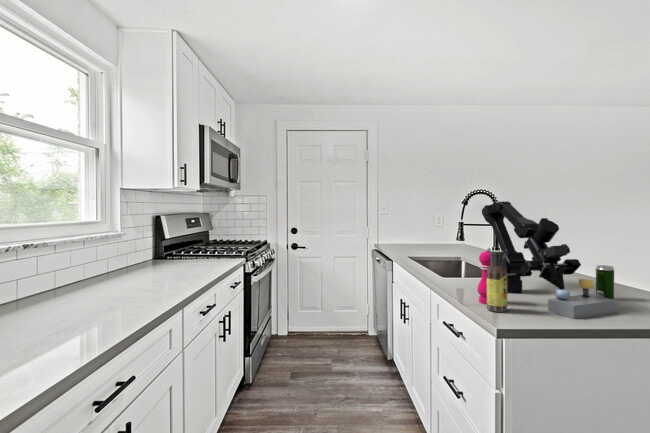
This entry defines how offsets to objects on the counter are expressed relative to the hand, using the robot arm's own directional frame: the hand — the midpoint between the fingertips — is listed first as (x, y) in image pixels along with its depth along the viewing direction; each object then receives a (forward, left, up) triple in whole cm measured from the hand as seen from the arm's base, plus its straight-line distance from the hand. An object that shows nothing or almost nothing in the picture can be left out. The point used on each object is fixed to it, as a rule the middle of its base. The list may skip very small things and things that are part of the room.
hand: (562, 288), depth 123 cm
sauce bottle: (-20, -4, -8) cm, 22 cm away
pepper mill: (-22, +6, -8) cm, 24 cm away
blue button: (0, 0, -6) cm, 6 cm away
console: (+6, +1, -7) cm, 9 cm away
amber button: (+8, +6, -4) cm, 11 cm away
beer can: (+18, +21, -8) cm, 29 cm away
